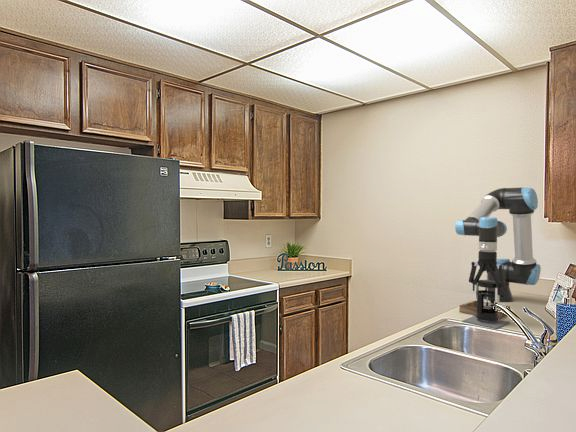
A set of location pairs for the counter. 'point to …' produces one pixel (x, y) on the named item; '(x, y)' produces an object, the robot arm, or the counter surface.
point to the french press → (487, 313)
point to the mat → (486, 322)
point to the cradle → (475, 308)
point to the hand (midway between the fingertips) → (486, 300)
